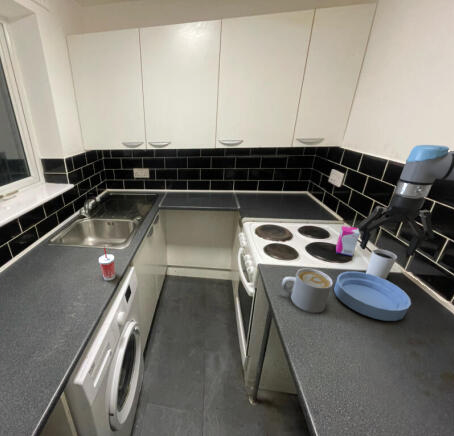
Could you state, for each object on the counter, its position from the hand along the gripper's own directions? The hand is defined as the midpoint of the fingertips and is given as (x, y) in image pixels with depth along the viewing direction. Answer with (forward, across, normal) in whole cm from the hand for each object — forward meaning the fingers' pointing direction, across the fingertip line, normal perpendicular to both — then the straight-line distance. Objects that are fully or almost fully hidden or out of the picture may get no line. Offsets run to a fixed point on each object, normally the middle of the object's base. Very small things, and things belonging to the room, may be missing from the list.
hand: (385, 250), depth 83 cm
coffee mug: (+12, -28, -22) cm, 37 cm away
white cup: (+12, 0, 0) cm, 12 cm away
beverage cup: (+12, -98, -32) cm, 104 cm away
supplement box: (+12, -6, +16) cm, 20 cm away
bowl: (+11, -8, -16) cm, 21 cm away
